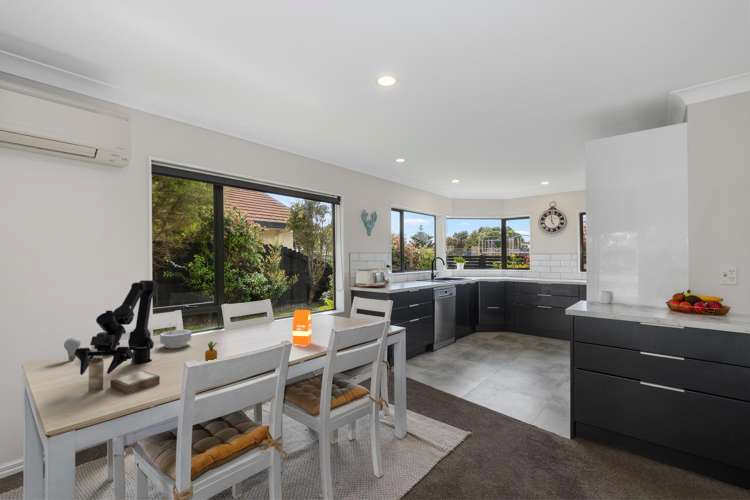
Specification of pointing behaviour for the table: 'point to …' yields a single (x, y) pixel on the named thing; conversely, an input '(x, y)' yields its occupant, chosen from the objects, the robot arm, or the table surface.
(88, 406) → the table surface
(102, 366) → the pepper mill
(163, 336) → the paper bowls
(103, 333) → the medicine bottle
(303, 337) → the orange juice
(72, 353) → the lightbulb
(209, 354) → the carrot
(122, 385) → the square tray
